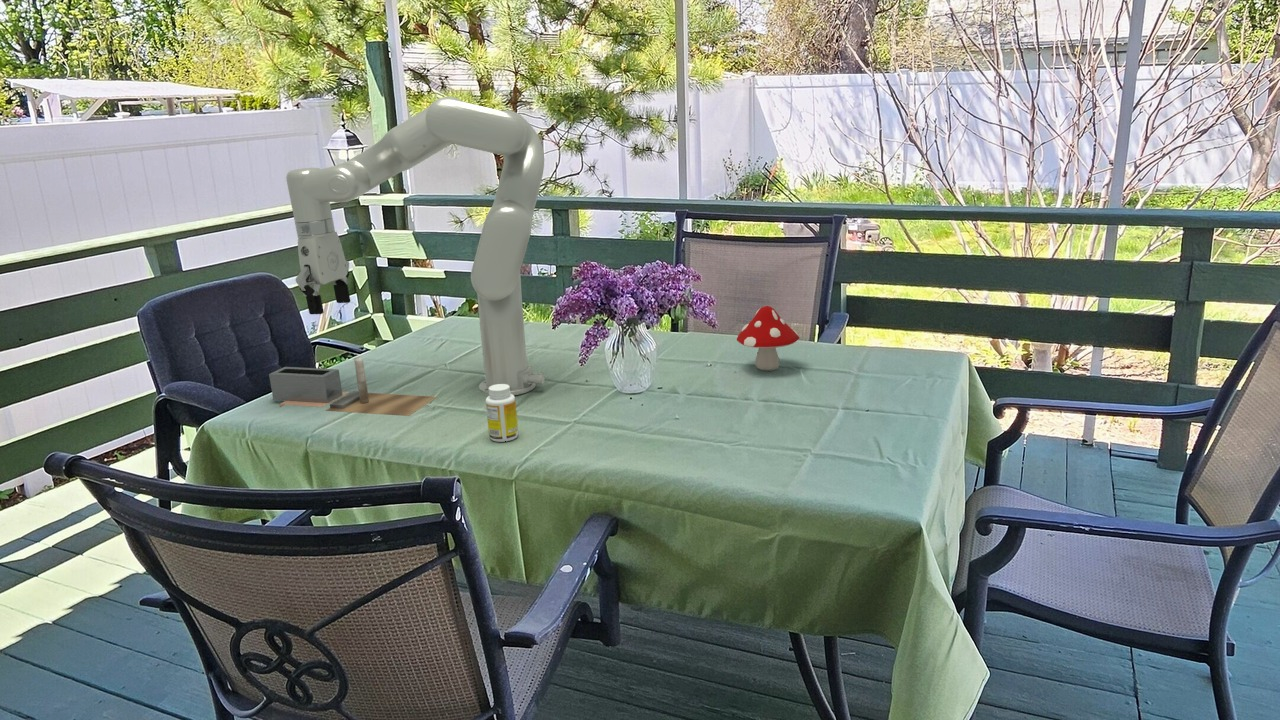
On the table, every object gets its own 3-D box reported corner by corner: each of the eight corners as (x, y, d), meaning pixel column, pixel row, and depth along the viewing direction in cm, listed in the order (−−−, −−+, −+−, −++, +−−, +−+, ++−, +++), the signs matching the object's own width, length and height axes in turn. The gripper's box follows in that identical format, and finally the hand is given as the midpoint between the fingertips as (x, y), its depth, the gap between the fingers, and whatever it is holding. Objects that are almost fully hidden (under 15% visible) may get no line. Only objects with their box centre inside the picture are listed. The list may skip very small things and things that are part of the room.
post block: (438, 400, 195) (432, 352, 192) (409, 419, 184) (402, 369, 181) (358, 395, 200) (351, 349, 197) (325, 414, 189) (318, 365, 186)
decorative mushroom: (794, 359, 211) (795, 297, 207) (803, 377, 198) (804, 311, 194) (734, 362, 212) (733, 300, 207) (740, 379, 199) (739, 314, 194)
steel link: (342, 395, 199) (338, 369, 197) (327, 403, 194) (323, 376, 192) (289, 392, 203) (284, 366, 201) (273, 400, 198) (268, 374, 196)
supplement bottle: (519, 431, 174) (514, 381, 171) (518, 441, 169) (513, 390, 166) (490, 433, 174) (485, 383, 171) (488, 444, 169) (483, 392, 166)
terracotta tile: (350, 395, 201) (349, 391, 201) (323, 410, 192) (322, 406, 192) (308, 392, 204) (308, 389, 204) (280, 407, 195) (279, 404, 195)
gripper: (305, 235, 178) (321, 318, 183) (354, 221, 194) (368, 298, 199) (273, 236, 180) (290, 318, 185) (324, 222, 196) (339, 298, 201)
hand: (330, 308), depth 192 cm, fingers open, 9 cm apart
